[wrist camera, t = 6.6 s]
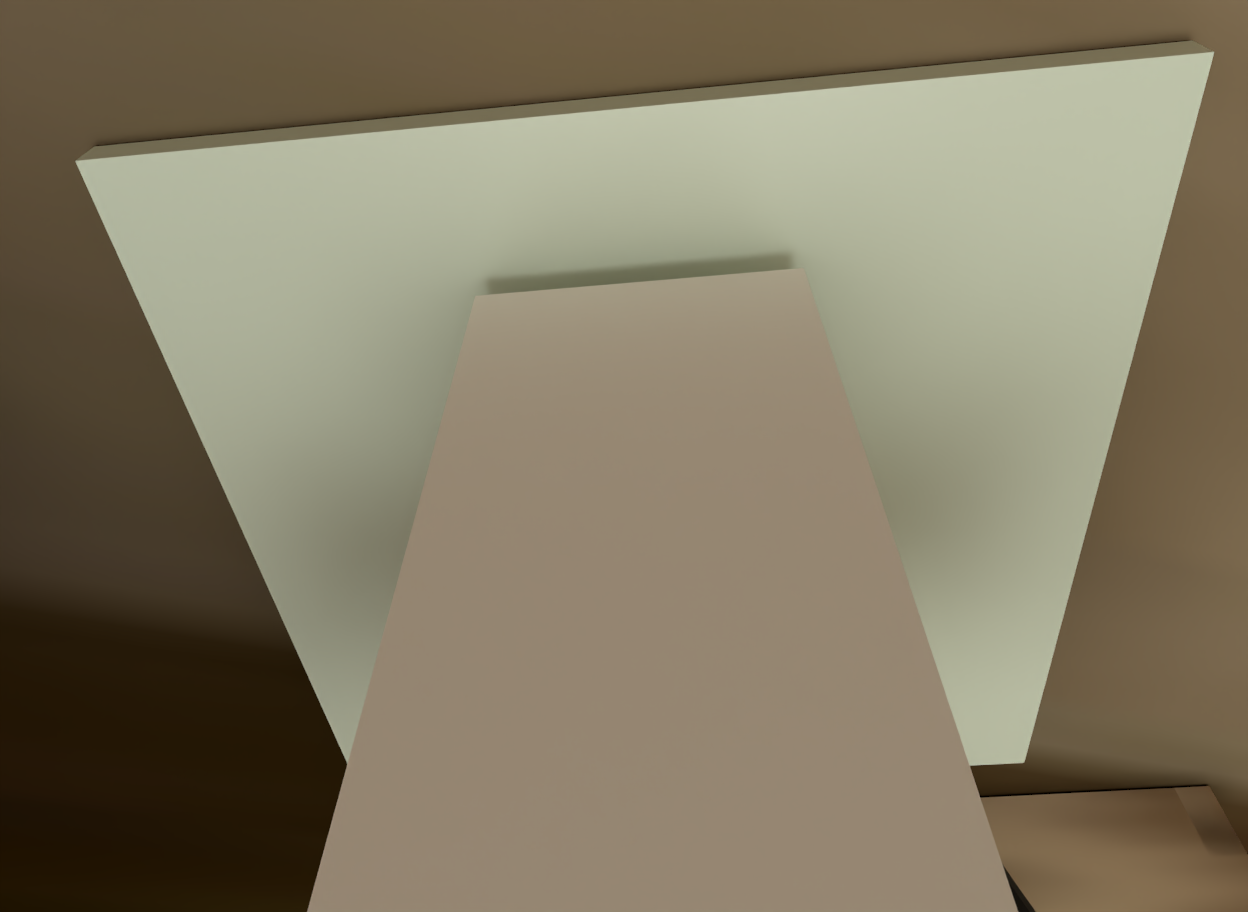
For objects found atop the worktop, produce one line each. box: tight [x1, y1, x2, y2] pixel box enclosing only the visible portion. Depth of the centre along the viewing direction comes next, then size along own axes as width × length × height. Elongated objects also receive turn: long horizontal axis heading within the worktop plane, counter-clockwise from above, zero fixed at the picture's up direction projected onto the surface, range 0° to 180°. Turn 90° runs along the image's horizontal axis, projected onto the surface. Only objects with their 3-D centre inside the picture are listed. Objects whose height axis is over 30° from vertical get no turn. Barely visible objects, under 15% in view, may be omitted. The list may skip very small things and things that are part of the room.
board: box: [75, 40, 1214, 766], centre depth 15 cm, size 13×13×1 cm
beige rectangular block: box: [307, 268, 1018, 912], centre depth 11 cm, size 4×10×8 cm, turn 5°
